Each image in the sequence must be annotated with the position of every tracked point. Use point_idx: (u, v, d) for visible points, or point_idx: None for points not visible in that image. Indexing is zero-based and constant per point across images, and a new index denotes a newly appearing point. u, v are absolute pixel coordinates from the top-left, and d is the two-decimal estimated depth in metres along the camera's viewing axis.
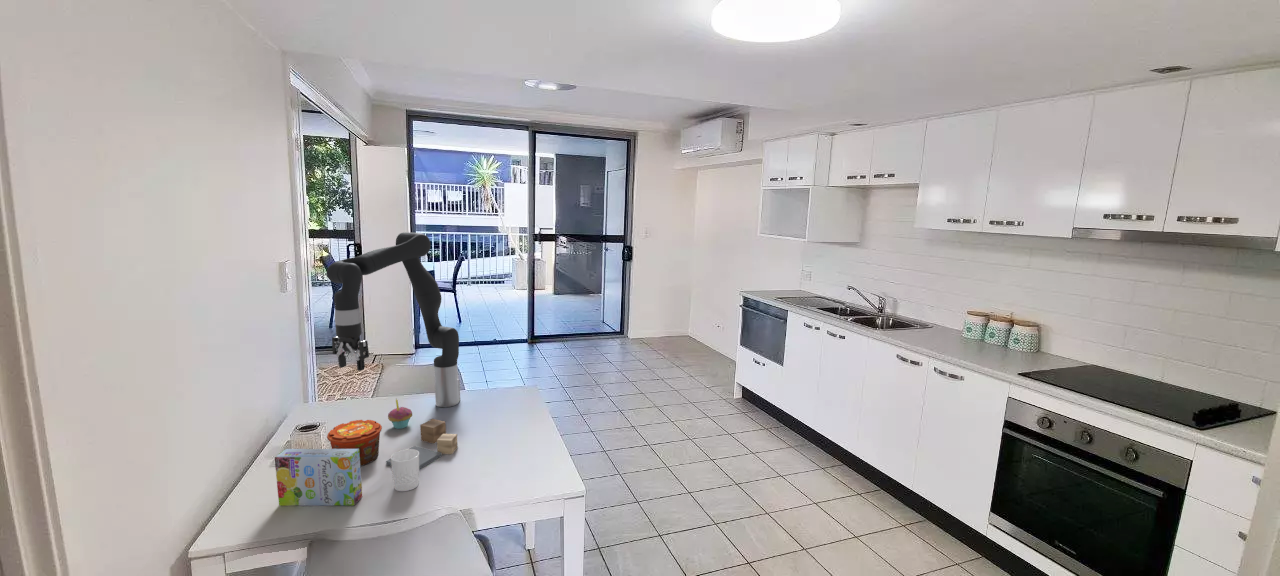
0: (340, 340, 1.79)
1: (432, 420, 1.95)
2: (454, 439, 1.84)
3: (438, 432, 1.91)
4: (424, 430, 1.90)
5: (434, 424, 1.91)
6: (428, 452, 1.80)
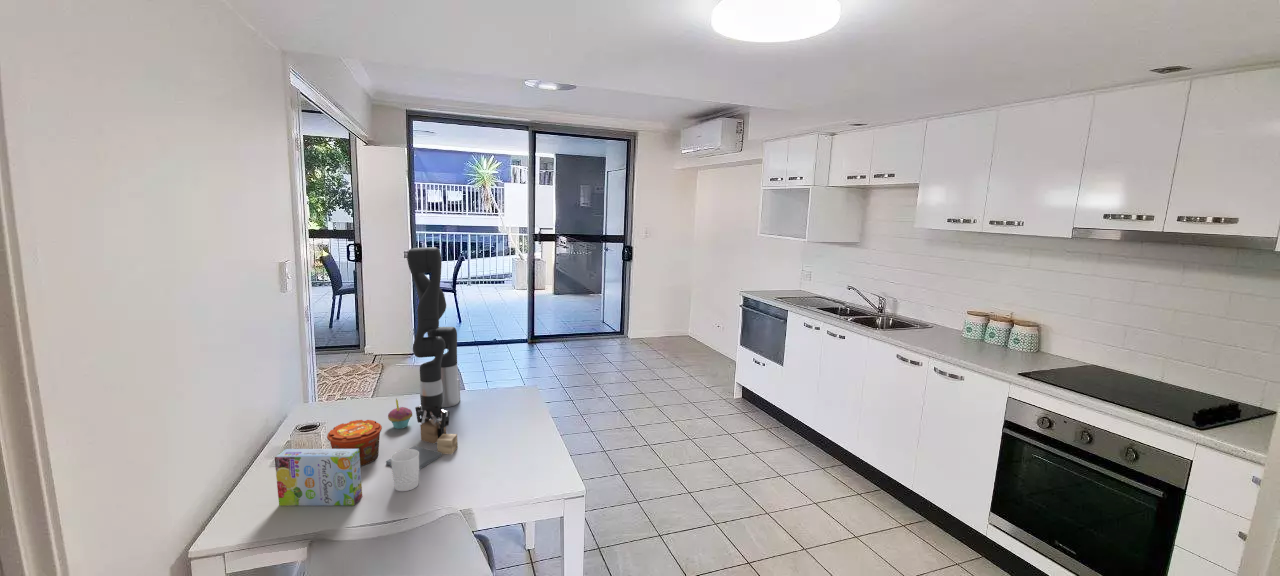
0: (423, 408, 1.91)
1: None
2: (454, 439, 1.84)
3: None
4: (424, 430, 1.90)
5: (434, 424, 1.91)
6: (428, 452, 1.80)
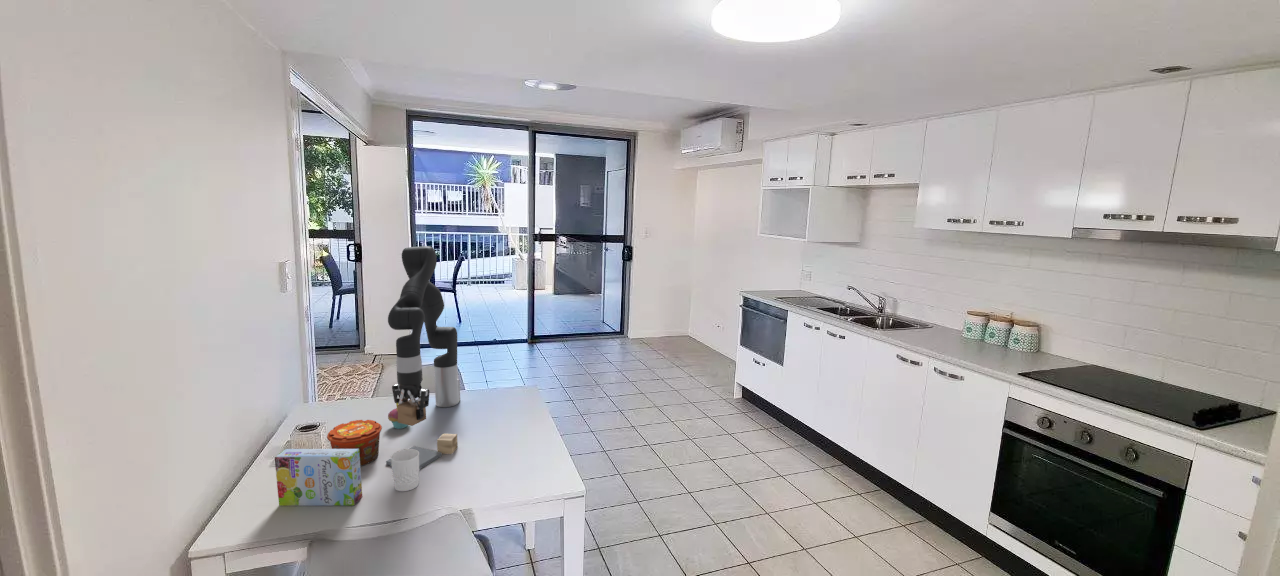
0: (401, 387, 1.73)
1: (411, 400, 1.77)
2: (454, 439, 1.84)
3: None
4: (401, 411, 1.72)
5: (412, 404, 1.73)
6: (428, 452, 1.80)
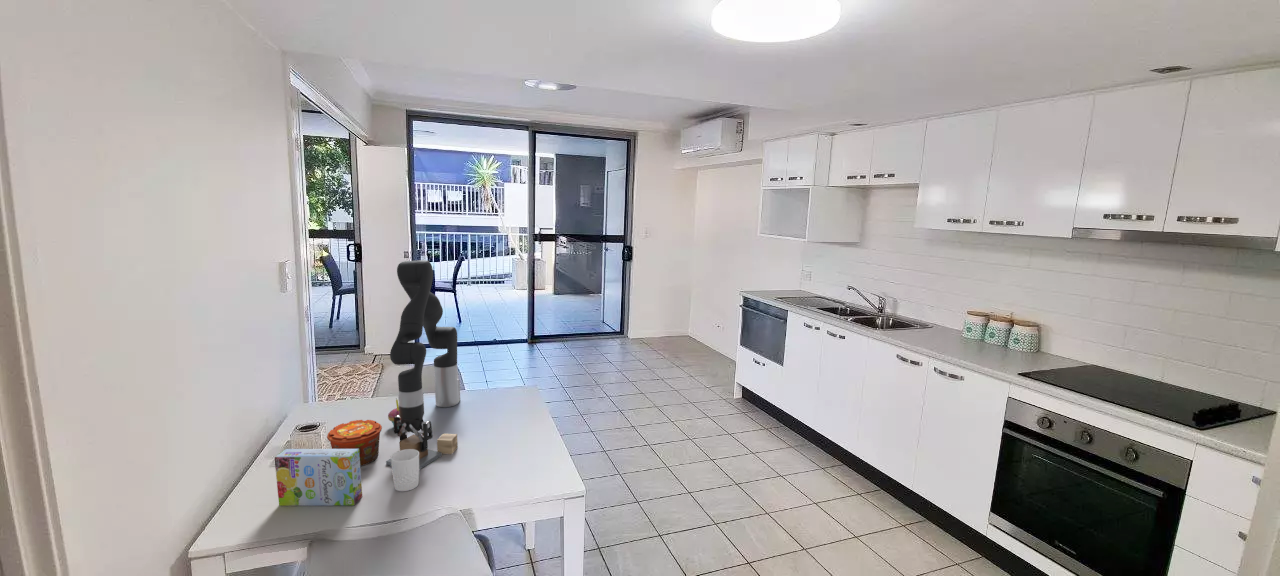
0: (402, 420, 1.75)
1: (413, 436, 1.79)
2: (454, 439, 1.84)
3: (419, 449, 1.75)
4: (403, 448, 1.74)
5: (414, 441, 1.75)
6: (428, 452, 1.80)
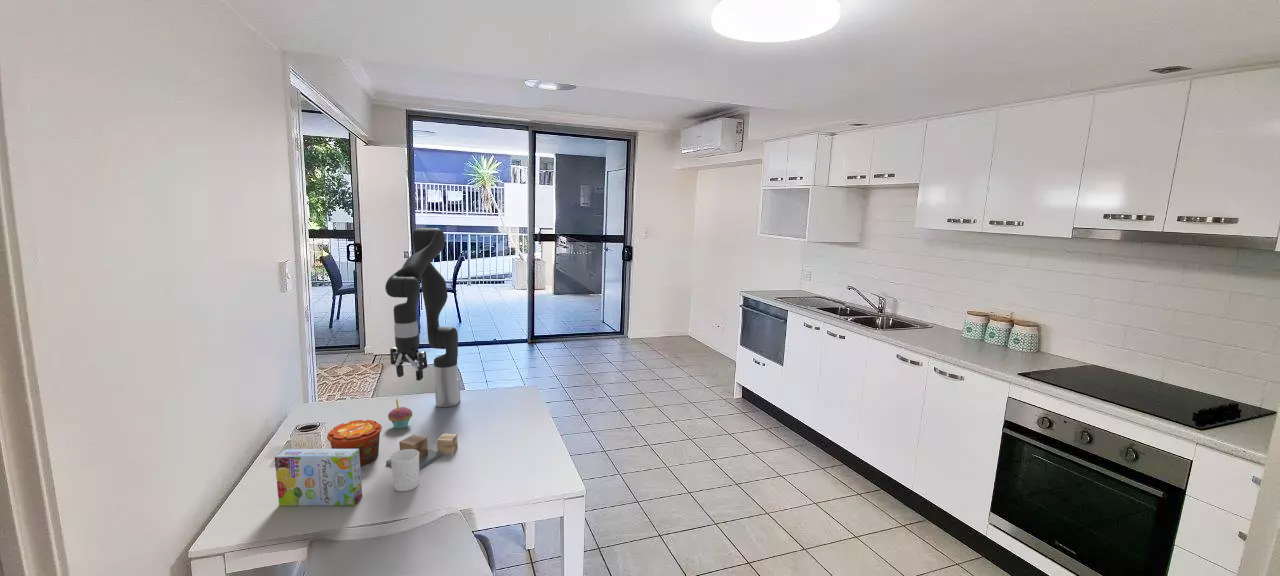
0: (399, 351, 1.85)
1: (413, 436, 1.79)
2: (454, 439, 1.84)
3: (419, 449, 1.75)
4: (403, 448, 1.74)
5: (414, 441, 1.75)
6: (428, 452, 1.80)
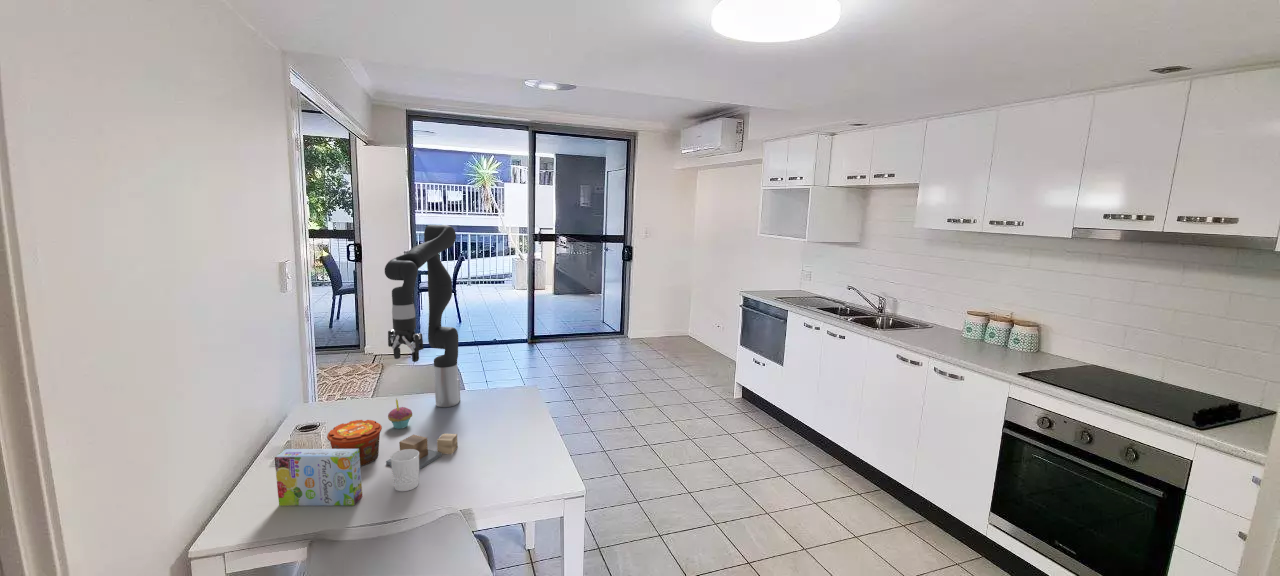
0: (396, 333, 1.91)
1: (413, 436, 1.79)
2: (454, 439, 1.84)
3: (419, 449, 1.75)
4: (403, 448, 1.74)
5: (414, 441, 1.75)
6: (428, 452, 1.80)
